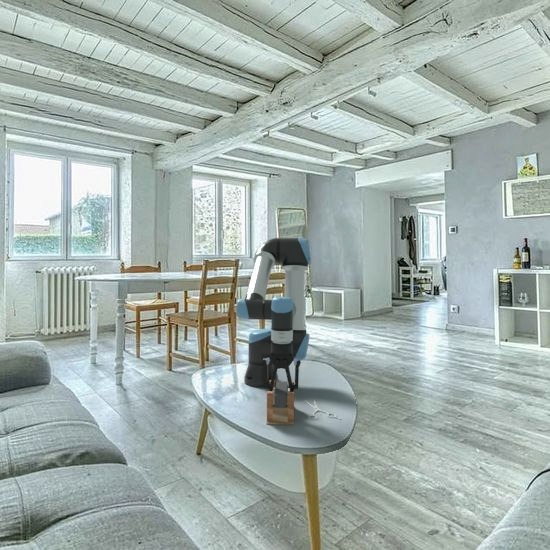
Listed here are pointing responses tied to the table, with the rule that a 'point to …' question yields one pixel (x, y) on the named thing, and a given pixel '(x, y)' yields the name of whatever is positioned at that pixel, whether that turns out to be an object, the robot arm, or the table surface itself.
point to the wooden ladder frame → (280, 410)
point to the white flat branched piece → (320, 411)
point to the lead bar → (280, 394)
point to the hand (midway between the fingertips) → (281, 407)
